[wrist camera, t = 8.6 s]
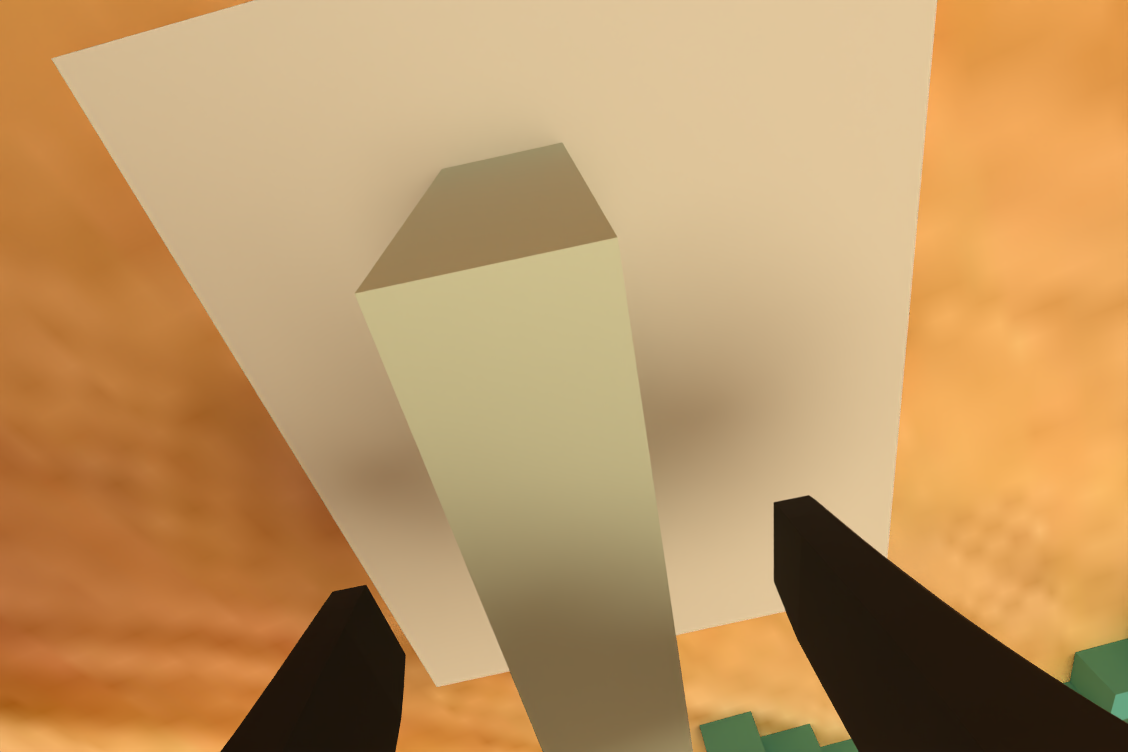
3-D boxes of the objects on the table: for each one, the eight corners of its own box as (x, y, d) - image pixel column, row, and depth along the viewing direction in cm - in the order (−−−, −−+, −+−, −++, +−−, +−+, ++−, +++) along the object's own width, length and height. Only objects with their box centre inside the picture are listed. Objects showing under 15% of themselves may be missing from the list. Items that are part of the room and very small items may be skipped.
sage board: (557, 567, 17) (580, 842, 11) (441, 168, 11) (354, 293, 5) (636, 551, 17) (703, 820, 11) (562, 142, 11) (617, 237, 5)
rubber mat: (438, 673, 20) (436, 687, 20) (71, 58, 10) (51, 58, 10) (876, 578, 19) (884, 590, 19) (935, -189, 9) (954, -200, 9)
